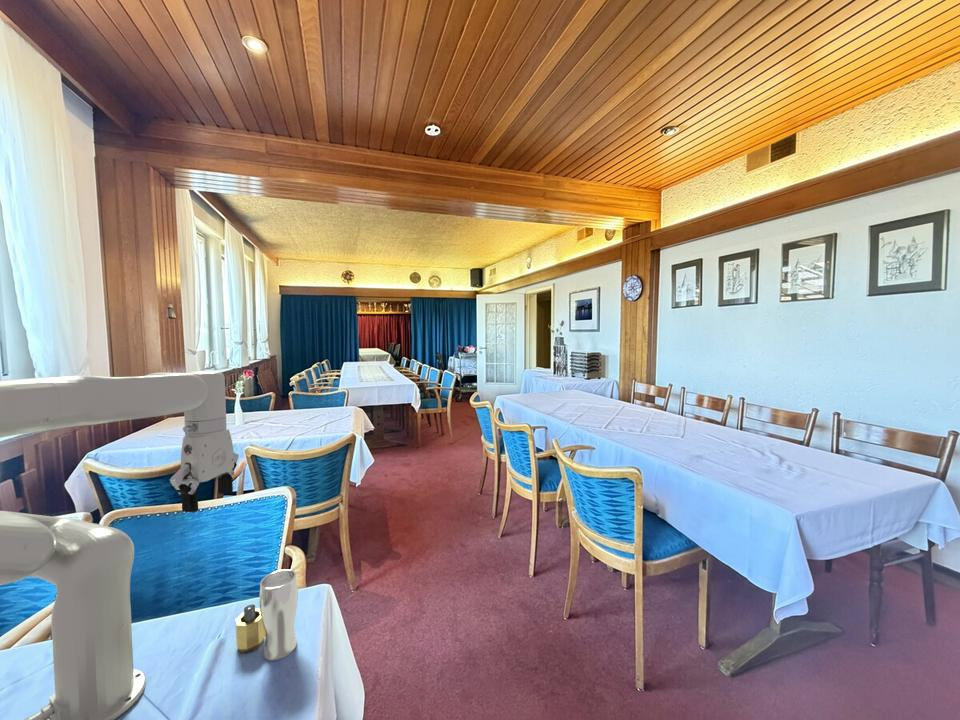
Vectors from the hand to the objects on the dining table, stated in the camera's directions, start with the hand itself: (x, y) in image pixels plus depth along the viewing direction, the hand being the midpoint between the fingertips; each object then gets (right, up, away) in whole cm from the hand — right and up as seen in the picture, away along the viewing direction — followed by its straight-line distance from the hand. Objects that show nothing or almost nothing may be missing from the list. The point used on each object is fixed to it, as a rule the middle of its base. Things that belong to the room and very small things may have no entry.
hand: (209, 501), depth 84 cm
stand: (+12, -28, -5) cm, 31 cm away
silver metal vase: (+19, -29, -6) cm, 35 cm away
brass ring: (+12, -27, -5) cm, 30 cm away
